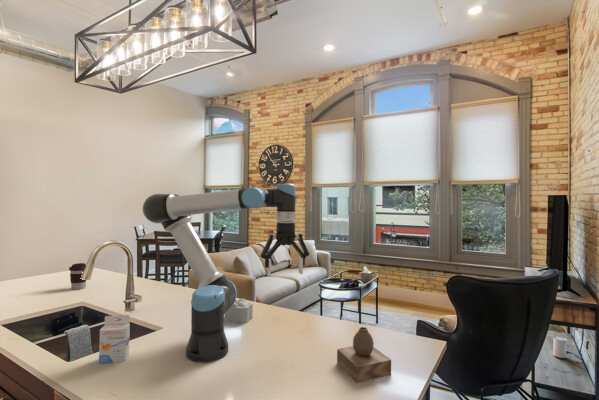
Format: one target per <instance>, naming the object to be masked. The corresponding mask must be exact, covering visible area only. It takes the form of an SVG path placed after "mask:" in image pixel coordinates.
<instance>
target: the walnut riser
mask: <svg viewBox="0 0 599 400" xmlns="http://www.w3.org/2000/svg"><path fill="white" fill-rule="evenodd" d="M336 363H337V365H339V367H341V369H342V370H343V371H344V372H345V373H346V374H347V375H349V377H350V378H351V379H353V381H355V383H358V384H359V383H362V382H366V381H370V379H371V380H375V378H376V379H380V378H384V376H385V377H389V376H392V359H391V358H390V357H388V356H387V355H385V354H384V353H383V352H382V351H380V350H379V349H377V348H375V347H373V351H372V353H371V354H370V355H369V356H367V357H362V356H359V355H358V354H357V353H356V352H355V350H354V348H353V345H351V346H346V347H341V348H337V352H336ZM379 377H380V378H379Z"/></svg>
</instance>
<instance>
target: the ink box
mask: <svg viewBox="0 0 599 400" xmlns="http://www.w3.org/2000/svg"><path fill="white" fill-rule="evenodd" d="M118 319H119V320H118ZM130 325H131V323H130V315H129V314H123V315H122V314H118V315H117V314H116V315H105V317H104V325H103V326H102V327H101V328H100V329H99V345H98V347H99V348H98V349H99V351H98V353H99V355H98V364H109V363H121V362H122V363H123V362H124V363H125V362H126V361H127V360H128V357H129V356H130V330H131V328H130V327H131V326H130Z"/></svg>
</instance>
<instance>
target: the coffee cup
mask: <svg viewBox="0 0 599 400" xmlns="http://www.w3.org/2000/svg"><path fill="white" fill-rule="evenodd" d="M85 265H87V264H86V263H83V262H80V263H73V264H72V265H71V266H70V267H69V268H68V271H70V273H69V277H70V279H69V280H70V285H71V286H70V288H71V290H73V291H74V290H75V291H77V290H83V289H85V288H86V287H87V281H86V280H82V279H80V278H81V275H82V268H83V267H84V266H85Z"/></svg>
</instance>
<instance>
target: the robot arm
mask: <svg viewBox="0 0 599 400" xmlns="http://www.w3.org/2000/svg"><path fill="white" fill-rule="evenodd" d="M296 197H297V195H296V185H295V184H294V183H278V184H277V186H276V188H262V187H257V186H250V187H249V186H248V187H247V188H237V189H230V190H219V191H212V192H211V191H210V192H202V193H194V194H193V193H192V194H185V195H184V194H183V195H179V194H175V193H167V194H166V193H155V194H154V193H153V194H152V195H149V196H148V197H147V198H146V199H145V201H144V203H143V204H142V214H143V215H144V217H145V219H146V220H148V222H151V223H153V224H161V226H162V228H163V229H164V231H165V232H169V233H170V234H171V235H172V237H173V239H174V240H175V242H176V244H177V245H178V247H179V249H180V251H181V253H182V254H183V256H184V258H185V260H186V262H187V263H188V265H189V267H190V269H191V271H192V272H193V274H194V275H195V278H196V279H197V281H198V288H196V289H195V290H194V291H193V293H192V294H191V301H190V304H191V312H190V313H191V318H190V319H191V320H190V321H191V325H190V326H191V330H190V331H191V332H190V336H189V338H188V342H187V344H186V349H185V357H186V359H187V360H188V361H191V362H196V363H209V362H214V361H218V360H220V359H222V358H224V357H225V356H227V355H228V353H229V342H228V338H227V336H226V332H225V319H224V316H225V312H226V311H227V310H228V309H229V308H230V307H231V306H232V305H233V304H234V302H235V300H237V296H238V290H237V288H236V285H235V284H234V282H233V281H231V280H229V279H228V278H227V277H226V275H225V274H224V272H220V271H218V269H217V267H216V266H215V264H214V261H213V260H212V258H211V257H210V255H209V253H208V251H207V249H206V248H205V246H204V244H203V243H202V241H201V239H200V237H199V236H198V234H197V232H196V230H195V228H194V227H193V225H192V223H191V221H192V216H193V215H202V214H210V213H211V214H212V213H221V212H229V211H237V210H239V211H240V210H247V209H258V208H276V227H275V228H276V233H275V234H271V233H268V238H267V241H266V243H265V245H264V247H263V249H262V251H261V253H260V255H259V257H260V258H261V259H263V260H264V267H265V268H266V275H267V277H270V278H271V277H272V273H271V272H272V260H271V257H272V256H273V255H274V254H275V252H276V251H277V249H278V248H280V247H281V246H290V245H291V246H292V247H293V248H294V250H295V251H296V252H297V254H299V256H298V273H299V274H300V275H303V273H304V272H303V271H304V269H303V268H304V267H303V266H305V265H306V262H305V261H306V258H307V257H309V256H310V252H309V250H308V248H307V246H306V244H305V241H304V239H303V234H302V233H301V232H300V233H299V232H298V233H296V223H295V221H296ZM275 239H276V241H275V243H274V245H273V246H272V247H271V245H272V243H273V241H274V240H275ZM295 239H297V241H298V243H299V245H300V247H301V248H300V247H299V246H298V244H297V243H296V242H295Z"/></svg>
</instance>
